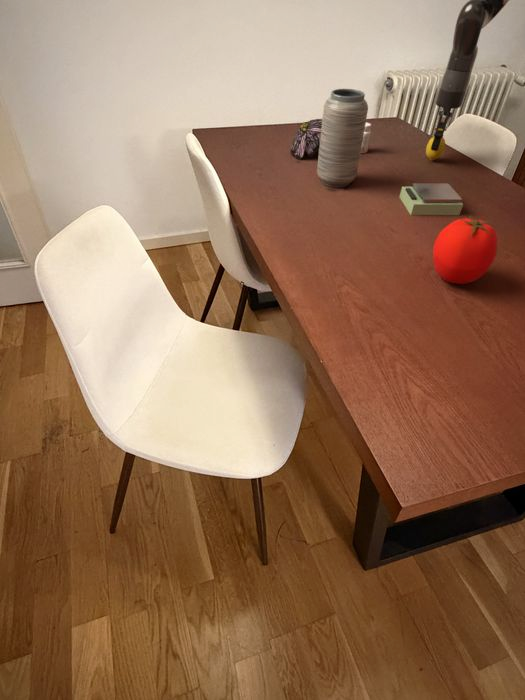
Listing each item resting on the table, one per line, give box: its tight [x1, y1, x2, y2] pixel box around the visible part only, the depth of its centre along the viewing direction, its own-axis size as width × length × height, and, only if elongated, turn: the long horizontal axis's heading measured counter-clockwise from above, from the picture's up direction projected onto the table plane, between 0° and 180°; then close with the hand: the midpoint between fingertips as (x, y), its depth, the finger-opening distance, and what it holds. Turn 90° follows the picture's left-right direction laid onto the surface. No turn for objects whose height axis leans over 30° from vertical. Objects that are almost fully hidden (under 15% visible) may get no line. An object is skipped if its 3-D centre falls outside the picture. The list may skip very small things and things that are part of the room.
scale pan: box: [411, 182, 463, 202], centre depth 107 cm, size 10×10×1 cm
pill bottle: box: [360, 122, 372, 154], centre depth 136 cm, size 5×5×8 cm
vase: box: [316, 88, 369, 188], centre depth 112 cm, size 12×12×23 cm
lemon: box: [425, 136, 446, 162], centre depth 130 cm, size 6×6×8 cm
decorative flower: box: [289, 118, 323, 161], centre depth 133 cm, size 15×12×15 cm
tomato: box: [432, 215, 498, 285], centre depth 80 cm, size 12×12×13 cm
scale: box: [398, 186, 464, 216], centre depth 108 cm, size 13×11×4 cm
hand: (435, 146), depth 130 cm, fingers open, 8 cm apart
